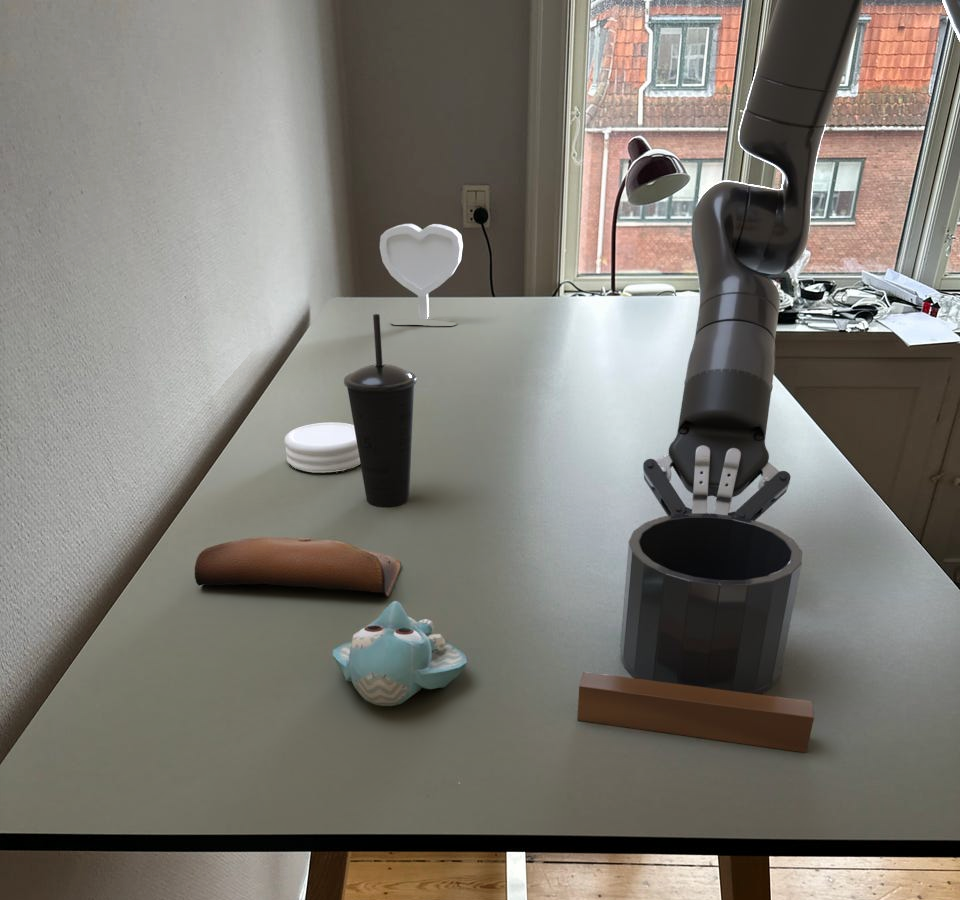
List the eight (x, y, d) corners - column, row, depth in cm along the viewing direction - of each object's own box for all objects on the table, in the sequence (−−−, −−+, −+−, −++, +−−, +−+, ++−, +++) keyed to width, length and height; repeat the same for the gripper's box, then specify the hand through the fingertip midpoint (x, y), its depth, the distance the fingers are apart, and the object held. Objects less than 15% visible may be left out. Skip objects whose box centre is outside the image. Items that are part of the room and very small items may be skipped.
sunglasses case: (405, 556, 89) (394, 516, 83) (394, 619, 86) (382, 581, 80) (227, 548, 91) (205, 508, 86) (210, 609, 88) (186, 571, 82)
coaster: (327, 481, 109) (324, 452, 107) (270, 463, 114) (266, 436, 112) (384, 457, 115) (382, 430, 114) (328, 442, 121) (325, 416, 119)
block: (581, 705, 69) (583, 671, 67) (805, 736, 65) (812, 701, 63) (577, 720, 67) (579, 686, 65) (806, 753, 63) (814, 717, 62)
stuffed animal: (482, 581, 74) (451, 629, 63) (480, 663, 77) (449, 724, 65) (354, 571, 76) (302, 616, 65) (356, 652, 78) (306, 709, 67)
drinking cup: (376, 482, 108) (364, 304, 98) (433, 492, 105) (427, 310, 95) (340, 504, 102) (323, 318, 92) (399, 516, 99) (389, 325, 89)
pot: (726, 610, 81) (742, 504, 76) (813, 686, 70) (838, 569, 65) (595, 633, 77) (602, 524, 72) (665, 716, 67) (680, 596, 62)
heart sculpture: (383, 325, 181) (377, 226, 172) (389, 320, 186) (383, 223, 176) (460, 327, 179) (458, 227, 170) (464, 321, 183) (463, 223, 174)
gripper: (651, 360, 79) (621, 548, 76) (811, 370, 76) (788, 567, 73) (652, 403, 86) (625, 577, 83) (799, 414, 83) (777, 595, 80)
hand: (701, 572), depth 78 cm, fingers closed
